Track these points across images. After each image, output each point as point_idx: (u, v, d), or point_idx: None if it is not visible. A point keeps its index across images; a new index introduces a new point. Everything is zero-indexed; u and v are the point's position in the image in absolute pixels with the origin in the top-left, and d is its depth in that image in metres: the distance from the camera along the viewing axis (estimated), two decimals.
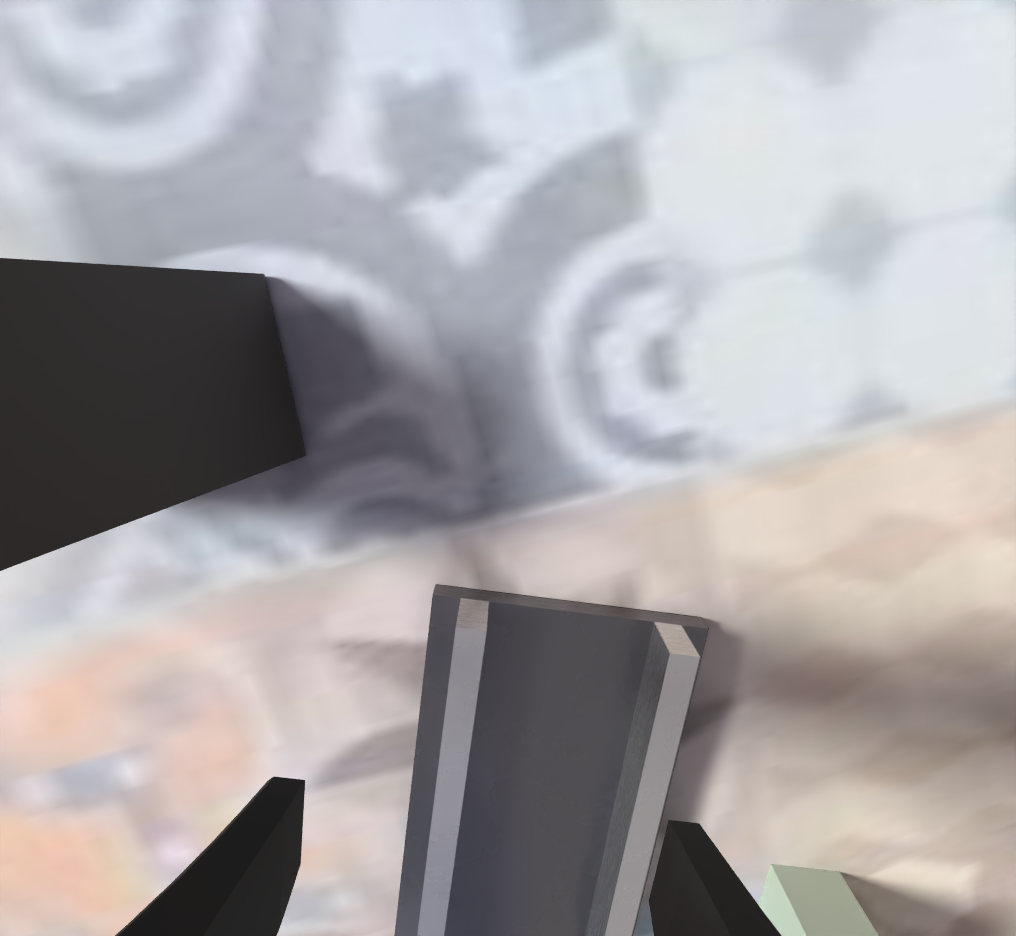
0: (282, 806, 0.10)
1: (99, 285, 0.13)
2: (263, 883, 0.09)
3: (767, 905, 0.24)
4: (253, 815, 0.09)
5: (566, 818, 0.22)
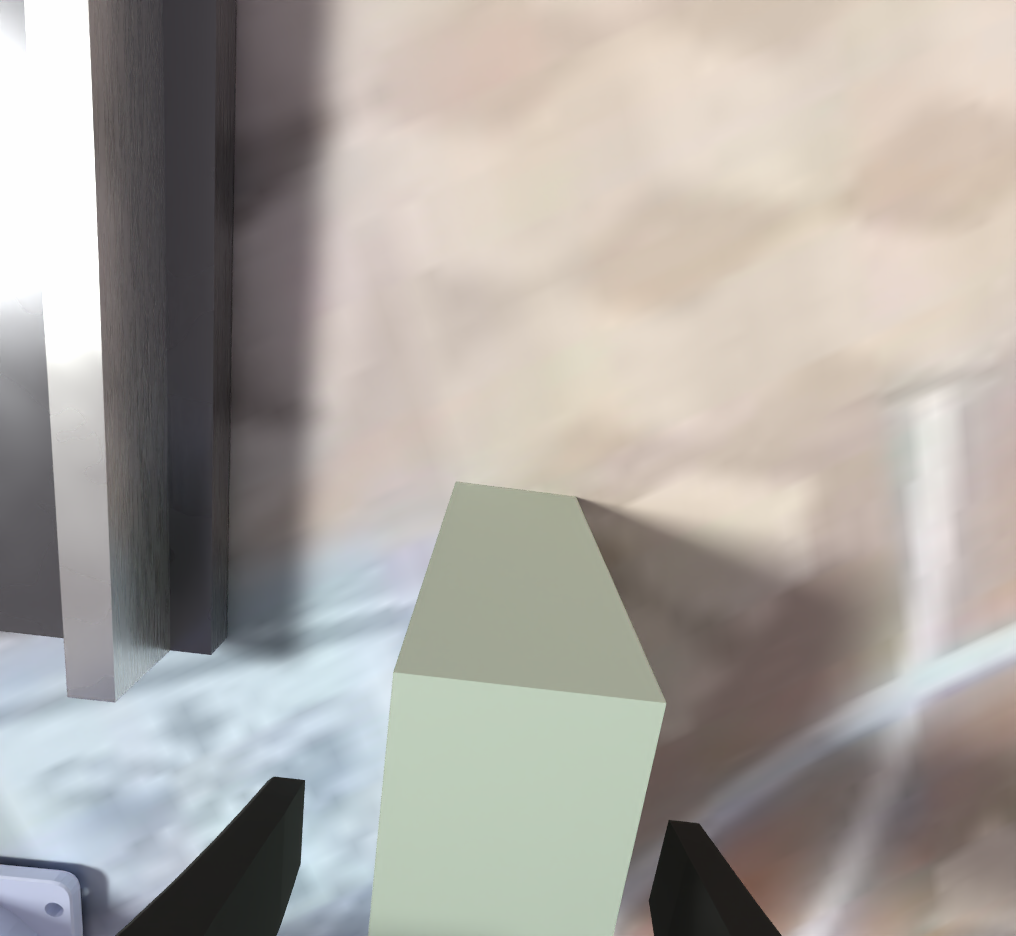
0: (282, 806, 0.10)
1: None
2: (263, 883, 0.09)
3: None
4: (253, 815, 0.09)
5: (37, 347, 0.12)
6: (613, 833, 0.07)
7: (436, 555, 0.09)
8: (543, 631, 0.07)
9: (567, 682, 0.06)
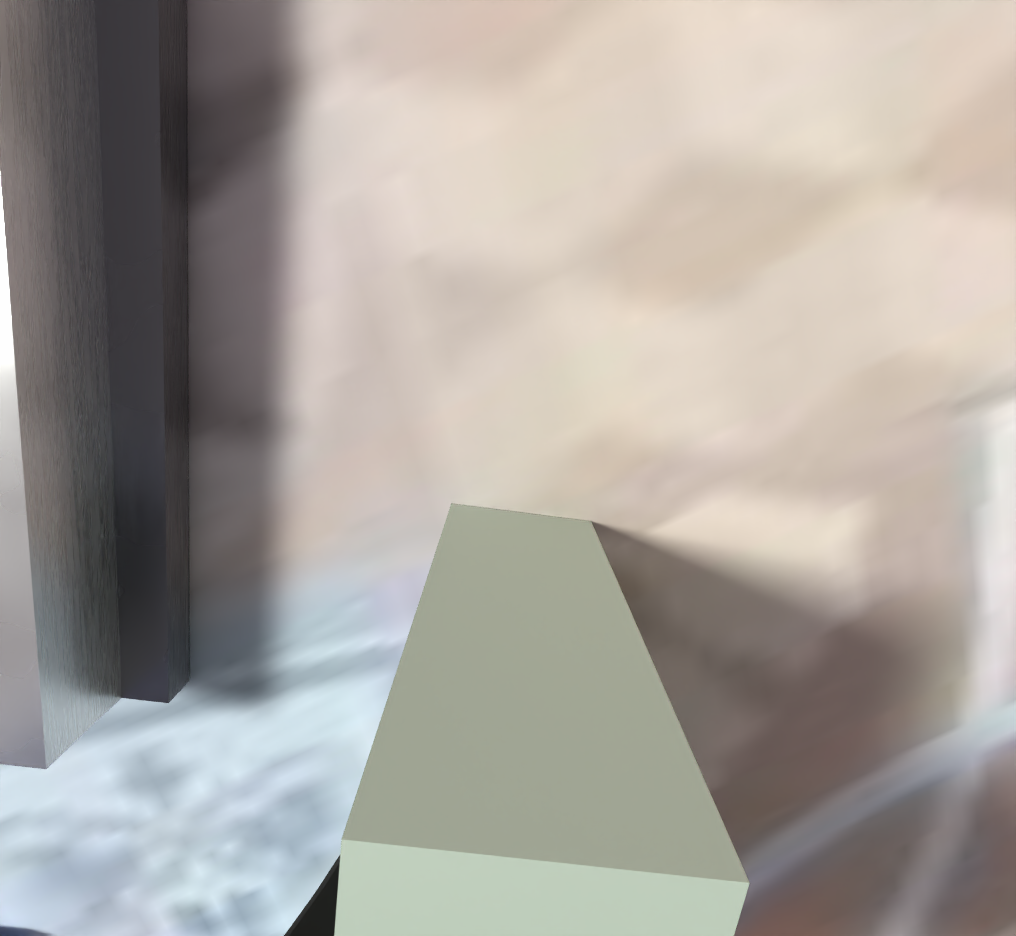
0: None
1: None
2: None
3: None
4: None
5: None
6: None
7: (421, 615, 0.07)
8: (561, 741, 0.05)
9: (602, 845, 0.04)
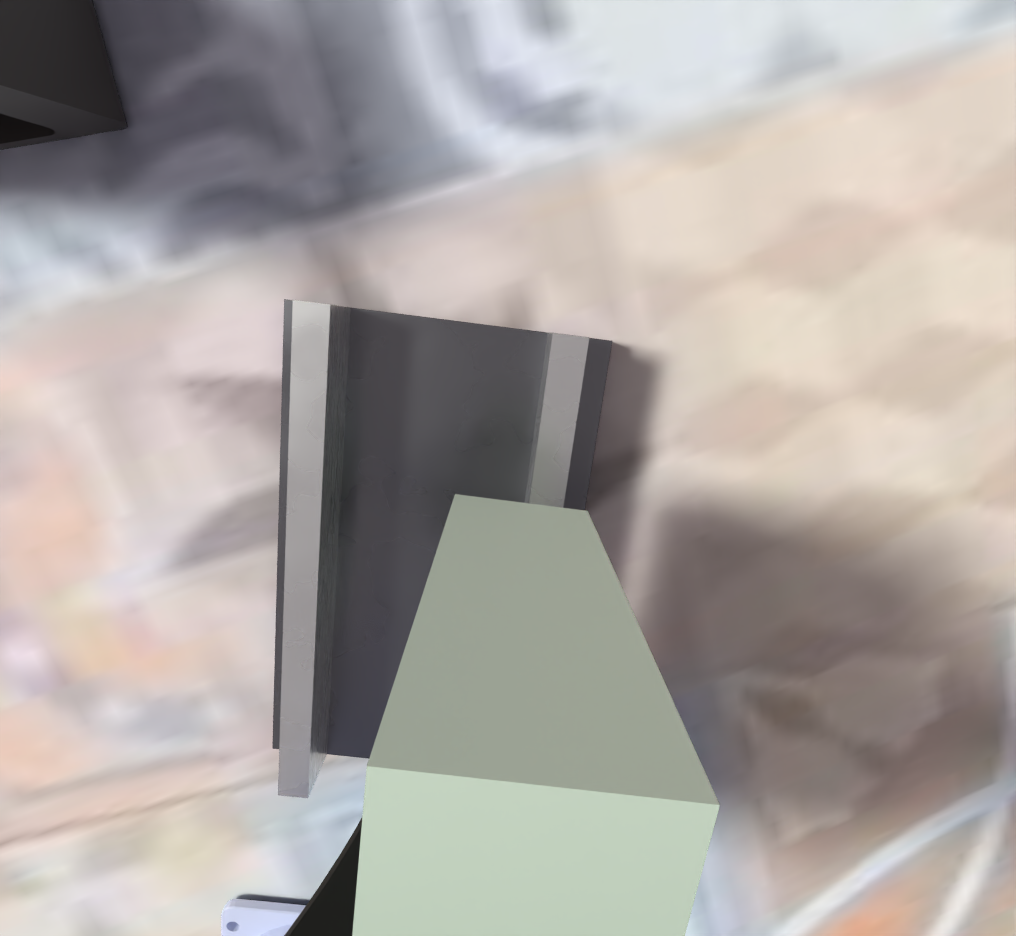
0: None
1: None
2: None
3: None
4: None
5: None
6: None
7: (429, 590, 0.08)
8: (558, 694, 0.06)
9: (591, 774, 0.05)
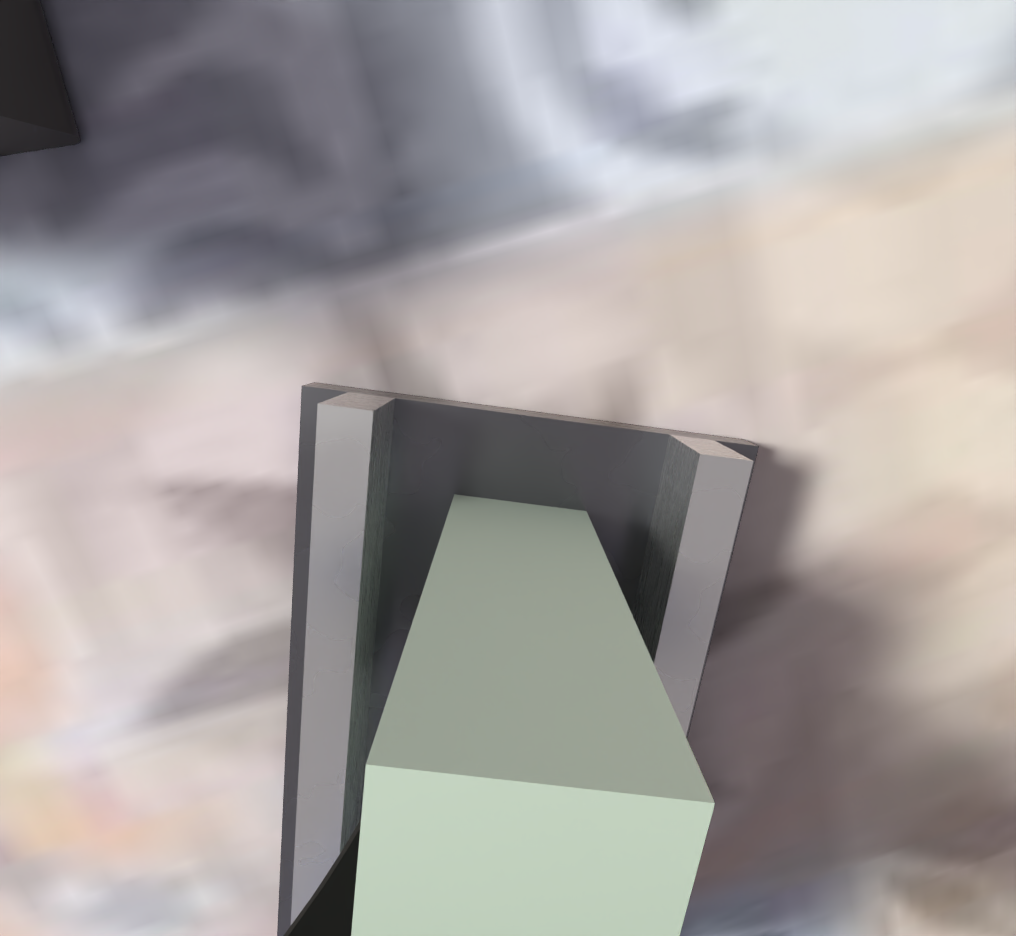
0: None
1: None
2: None
3: None
4: None
5: None
6: None
7: (428, 590, 0.08)
8: (556, 694, 0.06)
9: (589, 773, 0.05)
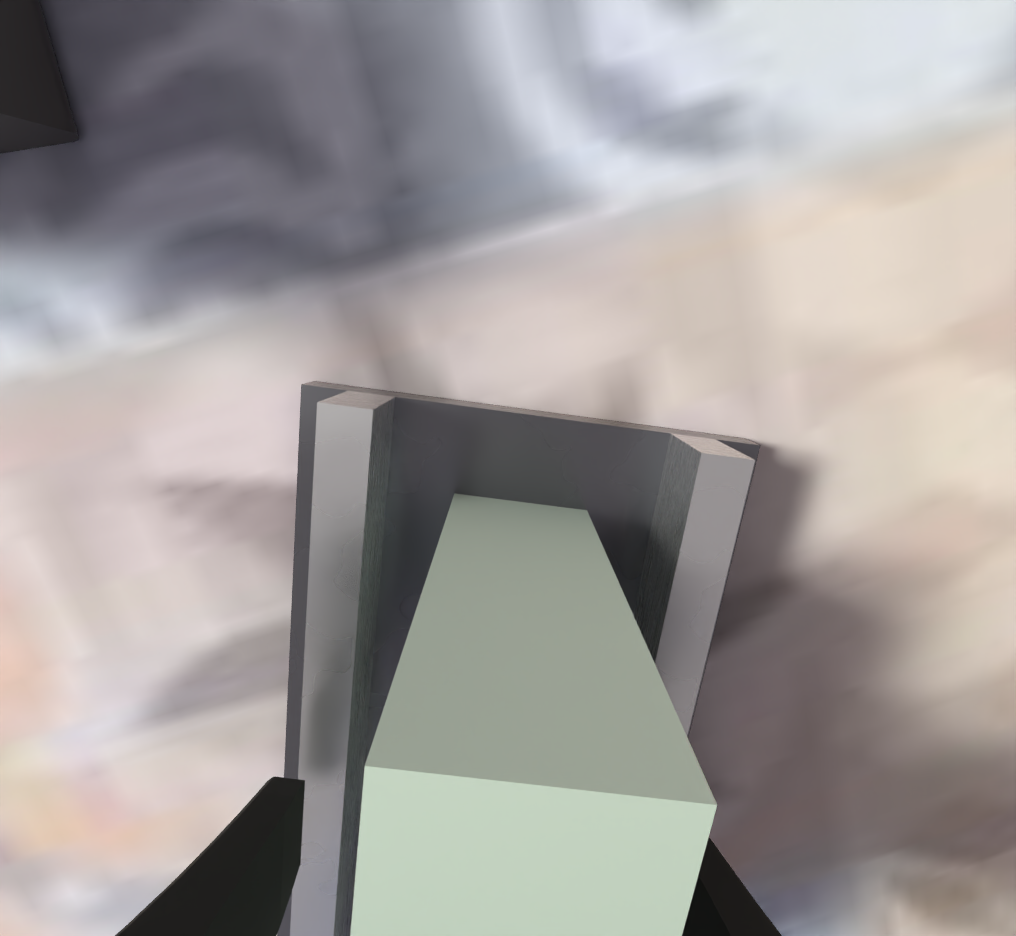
0: (282, 806, 0.10)
1: None
2: (263, 883, 0.09)
3: None
4: (253, 815, 0.09)
5: None
6: None
7: (428, 589, 0.08)
8: (556, 694, 0.06)
9: (589, 775, 0.05)
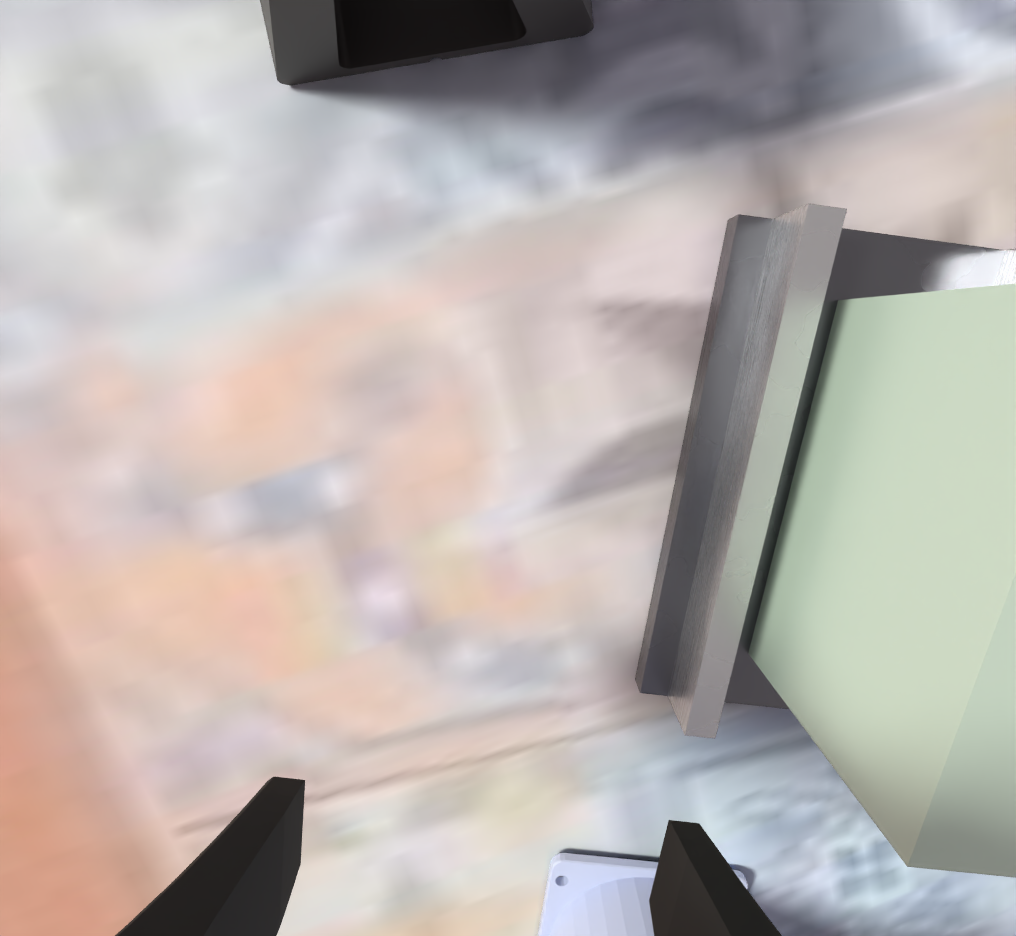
0: (282, 806, 0.10)
1: None
2: (263, 883, 0.09)
3: (835, 355, 0.16)
4: (253, 815, 0.09)
5: None
6: None
7: (967, 288, 0.12)
8: None
9: None
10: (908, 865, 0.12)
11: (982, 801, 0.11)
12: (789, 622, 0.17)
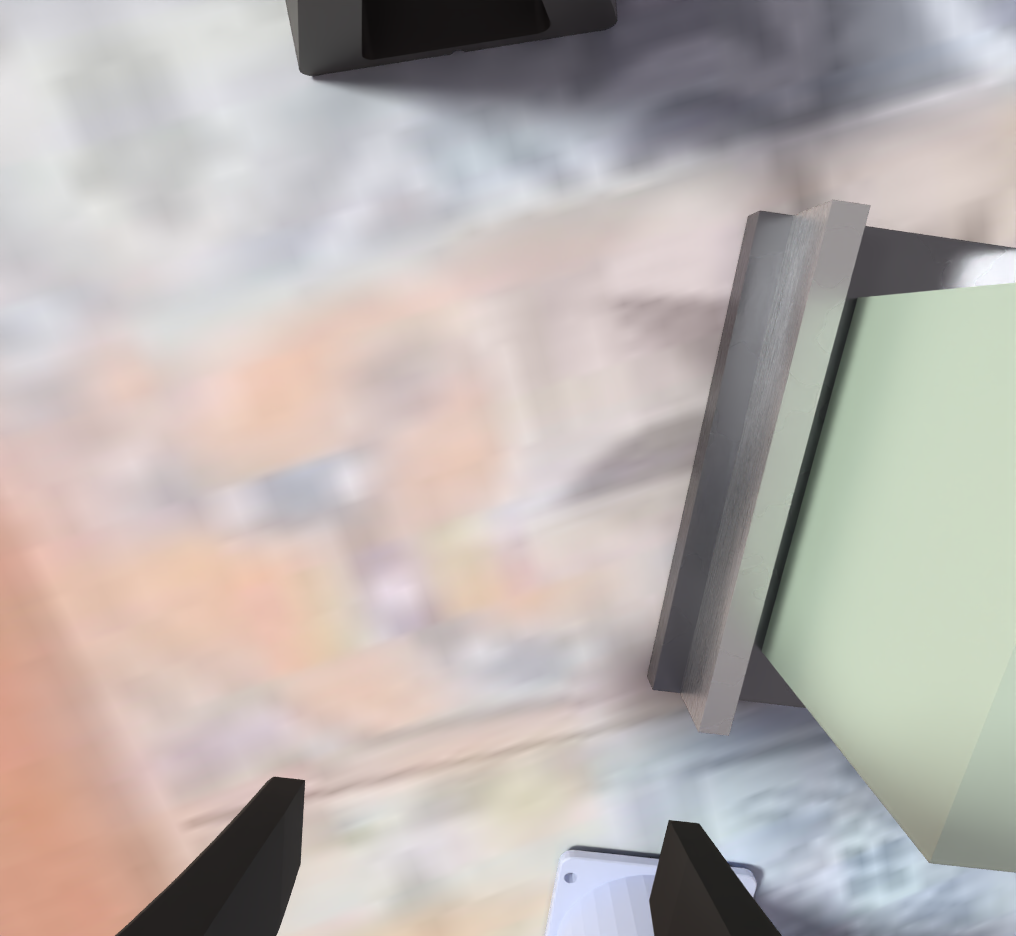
0: (282, 806, 0.10)
1: None
2: (263, 883, 0.09)
3: (854, 352, 0.16)
4: (253, 815, 0.09)
5: None
6: None
7: (994, 285, 0.12)
8: None
9: None
10: (930, 862, 0.12)
11: (1006, 799, 0.11)
12: (805, 619, 0.17)
